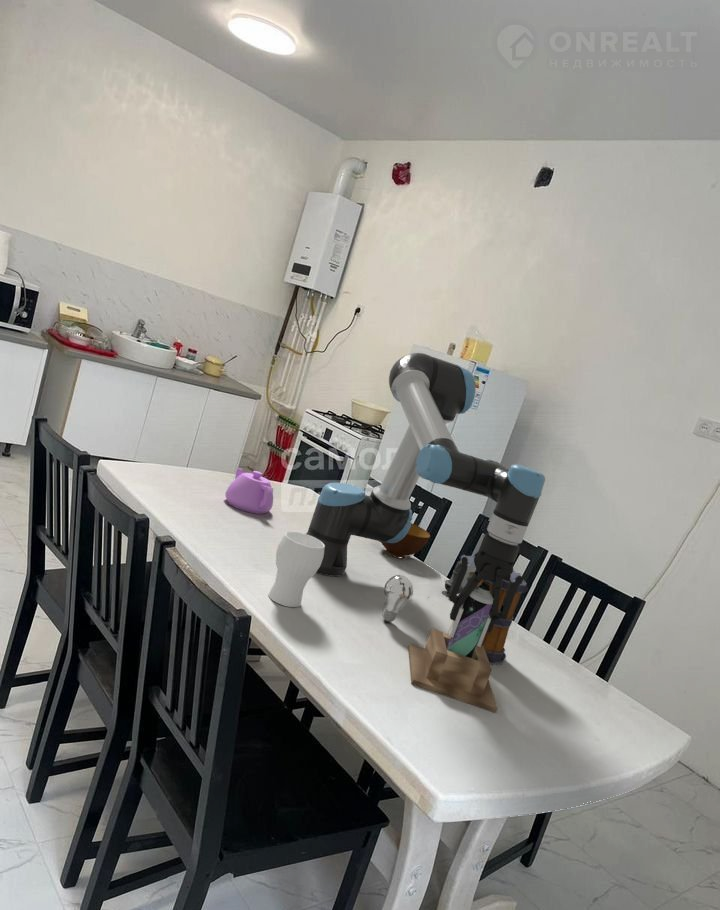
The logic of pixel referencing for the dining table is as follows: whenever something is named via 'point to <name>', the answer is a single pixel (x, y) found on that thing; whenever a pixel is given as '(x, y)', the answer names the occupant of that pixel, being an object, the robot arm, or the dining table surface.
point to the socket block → (452, 671)
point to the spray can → (472, 621)
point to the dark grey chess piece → (449, 582)
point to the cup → (295, 566)
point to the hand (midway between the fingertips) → (464, 638)
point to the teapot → (250, 492)
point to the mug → (499, 622)
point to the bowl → (408, 542)
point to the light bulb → (396, 596)
